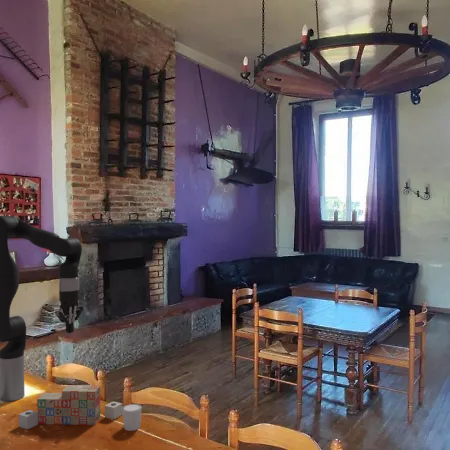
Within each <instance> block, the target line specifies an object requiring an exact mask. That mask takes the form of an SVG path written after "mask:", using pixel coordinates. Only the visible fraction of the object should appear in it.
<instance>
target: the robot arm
mask: <svg viewBox="0 0 450 450" xmlns="http://www.w3.org/2000/svg"><path fill="white" fill-rule="evenodd" d="M12 238H19V239H20V238H21V239H25V240H27V241H28V242H30V243H31V244H33V245H34V246H36V247H38V248H42V249H44V250H47V251H50V252H51V253H52V254H54V255H57V256H59V257H65V259H64V262H62V263H61V264H60V265H59V282H58V284H59V285H58V293H59V294H58V297H59V303H60V305H59V309H58V311H57V310H56V311H55V312H54V314H55V315H56V317H57V318H58V320H59V321H60V322H61V324H62V323H63V324H65V332H66V333H67V334H72V333H74V330H75V329H74V328H75V322H76V321H78V320H79V318H80V316H81V314H82V312H83V310H84V307H83V306H80V302H79V300H80V279H79V265H80V261H81V257H82V253H83V252H82V251H83V247H82V243H81V241H80V240H79V239H78V238H76V237H70V238H69V237H68V238H67V237H66V238H63V237H60V235H59V234H57V233H54V232H52V231H49V230H45V229H42V228H39V227H36V226H34V225H31V224H29V223H27V222H25V221H24V220H21V219H20V218H17V217H16V216H14V215H0V343H6V342H7V343H6V344H5V345H4V346H3V347H2V348H1V349H0V401H2V402H12V401H14V402H15V401H18V400H21V399H23V398H24V397H25V349H26V343H27V341H26V340H27V324H26V321H25V320H24V318H23V317H22V316H20V315H14V316H10V312H11V305H12V303H13V300H14V298H15V297H16V294H17V292H18V289H19V286H20V277H19V275H20V274H19V268H18V265H17V263H16V262H15V260H14V258H13V256H12V254H11V253H10V250H9V249H10V248H9V243H8V242H9V241H8V239H12Z"/></svg>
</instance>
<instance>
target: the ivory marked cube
mask: <svg viewBox="0 0 450 450" xmlns="http://www.w3.org/2000/svg"><path fill="white" fill-rule="evenodd" d="M122 408H123V403H122V402H117V401H112V402H109V403H108V404H105V405H104V418H105V417H106V419H109V418H111V419H110V420H113V419H115V420H116V418H117V417H118V418H120V417H122V416H123V412H122ZM121 415H122V416H121ZM119 416H120V417H119ZM118 418H117V419H118Z"/></svg>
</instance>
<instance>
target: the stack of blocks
mask: <svg viewBox="0 0 450 450" xmlns="http://www.w3.org/2000/svg"><path fill="white" fill-rule="evenodd" d="M36 403H37V404H36V407H37V411H36V412H38V425H79V426H80V425H81V426H83V425H84V426H92V425H93V426H95V425H97V423H98V422H99V420H100V418H101V385H91V384H80V385H79V384H77V385H76V384H75V385H74V384H73V385H72V384H70V385H69V384H68V385H66V387H64V388H63V390H62V391H61V392H43V393H42V394H41V395H40V396H39V397H38V398H37V400H36Z"/></svg>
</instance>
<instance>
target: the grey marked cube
mask: <svg viewBox="0 0 450 450" xmlns="http://www.w3.org/2000/svg"><path fill="white" fill-rule="evenodd" d="M38 425H39V424H38V412H37V411H35V410H32V409H28V410H26V411H24V412H21V413H19V414H18V427H19V428H21V429H22V428H23V429H26V430H29V429H31V428H34V427H35V426H38Z"/></svg>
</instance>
